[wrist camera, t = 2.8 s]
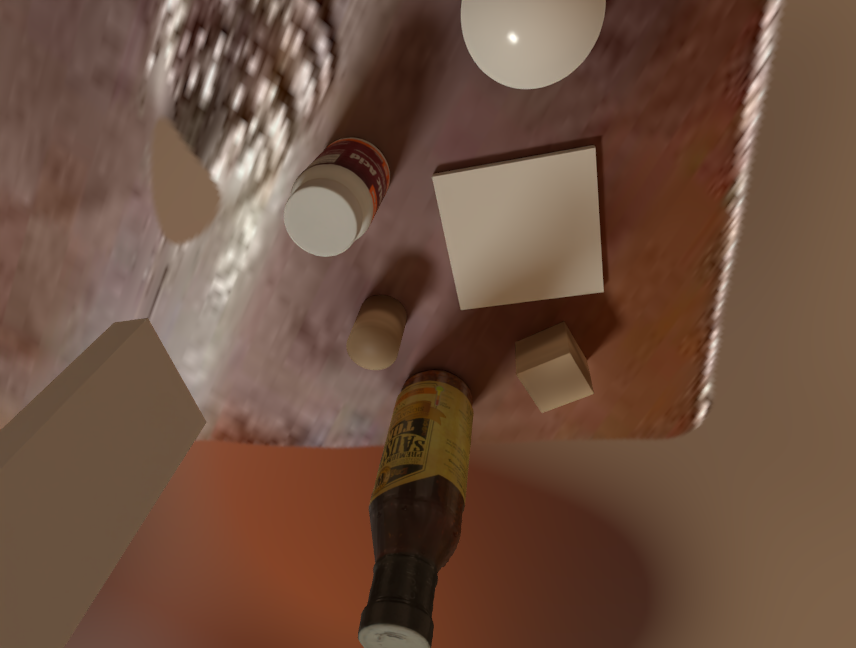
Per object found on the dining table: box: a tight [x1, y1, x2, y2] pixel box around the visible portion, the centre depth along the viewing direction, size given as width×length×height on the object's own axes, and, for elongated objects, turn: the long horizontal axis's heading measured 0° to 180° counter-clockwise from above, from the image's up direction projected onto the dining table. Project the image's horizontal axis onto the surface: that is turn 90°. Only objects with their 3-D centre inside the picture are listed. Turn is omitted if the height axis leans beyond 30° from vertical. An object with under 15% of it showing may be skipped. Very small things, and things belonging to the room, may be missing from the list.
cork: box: [346, 295, 407, 370], centre depth 40 cm, size 4×4×4 cm
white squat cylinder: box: [461, 0, 606, 89], centre depth 29 cm, size 7×7×4 cm
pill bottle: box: [284, 137, 390, 256], centre depth 33 cm, size 5×5×8 cm
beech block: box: [515, 322, 594, 413], centre depth 41 cm, size 4×4×4 cm
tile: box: [432, 145, 604, 310], centre depth 37 cm, size 10×10×1 cm
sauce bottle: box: [358, 370, 473, 648], centre depth 38 cm, size 7×6×20 cm
